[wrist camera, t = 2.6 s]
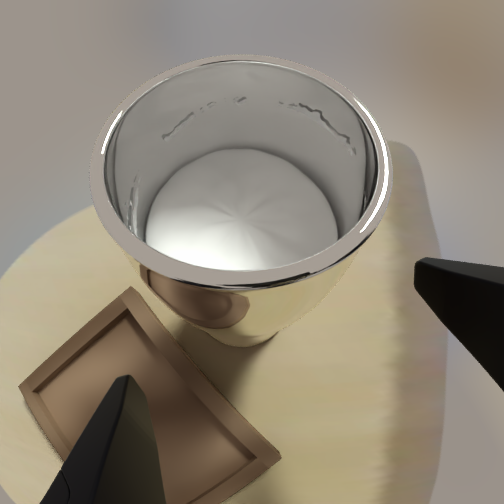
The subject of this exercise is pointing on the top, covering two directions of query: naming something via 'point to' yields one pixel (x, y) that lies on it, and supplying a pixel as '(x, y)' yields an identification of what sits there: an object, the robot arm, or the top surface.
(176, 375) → the walnut tray
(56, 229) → the top surface
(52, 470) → the top surface
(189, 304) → the silver metal tumbler
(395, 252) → the top surface
